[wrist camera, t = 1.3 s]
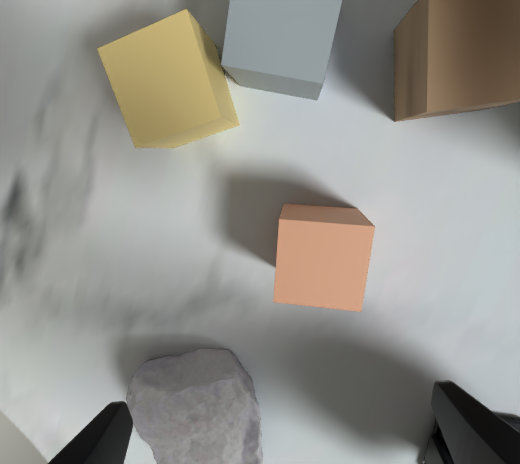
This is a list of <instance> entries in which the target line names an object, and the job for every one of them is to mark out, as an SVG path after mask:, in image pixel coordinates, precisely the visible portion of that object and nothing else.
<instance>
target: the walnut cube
mask: <svg viewBox="0 0 520 464" xmlns="http://www.w3.org/2000/svg"><path fill="white" fill-rule="evenodd" d="M516 102H520V0H418V1H417V2H416V3H415V4H414V6H413V7H412V8H411V9H410V11H409V12H408V13H407V15H406V16H405V17H404V18H403V20H402V21H401V22H400V23H399V25H398V26H397V27H396V29H395V30H394V122H396V121H404V120H411V119H418V118H426V117H433V116H440V115H448V114H455V113H463V112H470V111H477V110H484V109H489V108H493V107H498V106H502V105H507V104H511V103H516Z"/></svg>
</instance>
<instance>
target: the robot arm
mask: <svg viewBox="0 0 520 464" xmlns="http://www.w3.org/2000/svg"><path fill="white" fill-rule="evenodd" d="M431 405H432V409H433V412H434V414H435V417H436V422H435V426H434V430H433V433H432V435H431V436H430V439H429V443H428V447H427V451H426V454H425V463H424V464H520V420H516V419H509V418H502V417H499V416H497V415H496V414H495V413H493V412H492V411H491V410H489V409H488V408H487V407H485V406H484V405H483V404H481V403H480V402H479V401H477V400H476V399H475V398H473V397H472V396H471V395H470V394H468V393H467V392H466V391H464V390H463V389H462V388H460V387H459V386H458V385H456V384H455V383H454V382H452V381H448V380H446V381H436V382H435V383H434V387H433V393H432V399H431ZM132 428H133V419H132V416H131V414H130V411H129V408H128V406H127V404H126V402H124V401H119V402H111V403H110V404H108V405H107V406H106V407H105V408H104V409H103V410H102V411H101V412H100V413H99V414H98V415H97V416H96V417H95V418H94V419H93V420H92V421H91V422H90V423H89V424H88V425H87V426H86V427H85V428H84V429H83V430H82V431H81V432H80V433H79V434H77V435H76V436H75V437H74V438H73V439H72V440H71V441H70V442H69V443H68V444H67V445H66V446H65V447H64V448H63V449H62V450H61V451H60V452H59V453H58V454H57V455H56V456H55V457H54V458H53V459H52V460H51V461H50V462H49V463H48V464H124V460H125V456H126V452H127V448H128V444H129V440H130V436H131V432H132Z"/></svg>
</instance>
